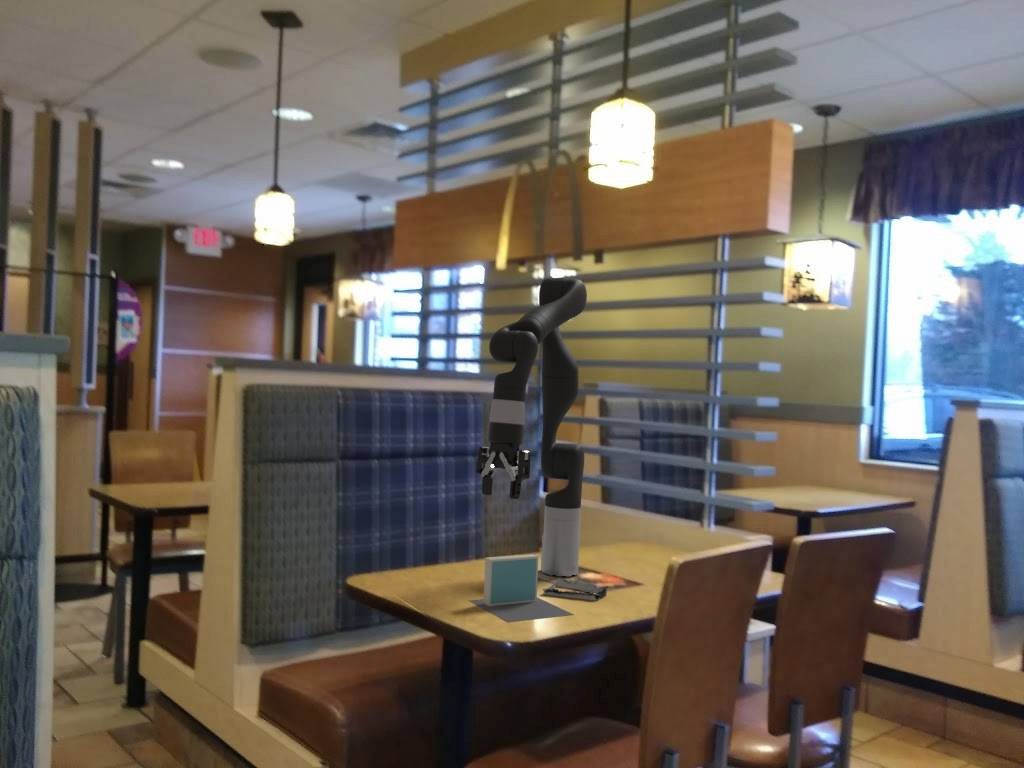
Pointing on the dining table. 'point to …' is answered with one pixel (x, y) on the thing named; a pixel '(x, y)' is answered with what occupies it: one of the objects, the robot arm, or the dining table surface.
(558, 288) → the robot arm
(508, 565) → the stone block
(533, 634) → the dining table surface
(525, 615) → the rubber mat
